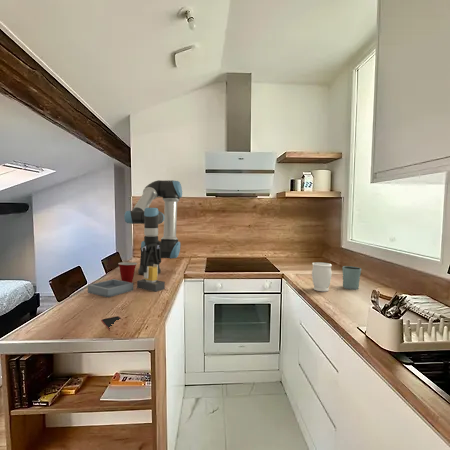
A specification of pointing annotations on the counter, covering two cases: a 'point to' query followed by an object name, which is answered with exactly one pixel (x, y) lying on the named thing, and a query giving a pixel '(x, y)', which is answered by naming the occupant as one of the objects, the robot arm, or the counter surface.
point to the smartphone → (110, 321)
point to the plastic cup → (127, 271)
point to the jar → (321, 276)
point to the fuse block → (151, 285)
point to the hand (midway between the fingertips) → (150, 276)
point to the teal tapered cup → (351, 277)
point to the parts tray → (110, 288)
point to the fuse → (152, 274)
